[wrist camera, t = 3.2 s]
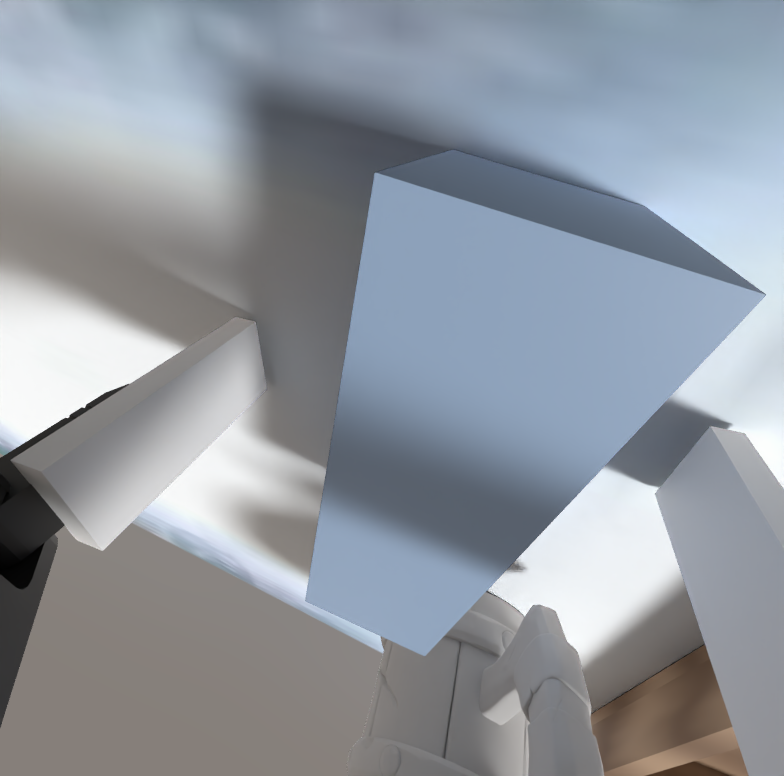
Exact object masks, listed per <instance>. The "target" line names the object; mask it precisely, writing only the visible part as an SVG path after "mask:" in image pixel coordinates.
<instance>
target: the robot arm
mask: <svg viewBox="0 0 784 776" xmlns="http://www.w3.org/2000/svg"><path fill="white" fill-rule="evenodd" d="M266 390H267V384H266V379H265V373H264V367H263V361H262V355H261V349H260V343H259V337H258V331H257V325H256V321H251V320H247V319H242V318H238V317H235V318H233V319H231V320H230V321H228V322H227V323H225V324H224V325H222V326H220V327H219V328H217V329H216V330H214V331H213V332H211V333H209V334H208V335H206V336H205V337H203V338H202V339H200V340H198V341H197V342H195V343H194V344H192V345H191V346H189V347H187V348H186V349H184V350H183V351H181V352H180V353H178V354H176V355H175V356H173V357H172V358H170V359H169V360H167V361H165V362H164V363H162V364H161V365H159V366H158V367H156V368H154V369H153V370H151V371H150V372H148V373H147V374H145V375H143V376H142V377H140V378H139V379H137V380H136V381H134V382H132V383H131V384H127V385H125V386H122V387H119V388H117V389H114V390H112V391H109V392H106V393H104V394H103V395H101V396H100V397H98V398H96V399H95V400H93V401H92V402H90V403H88V404H87V405H86V407H85V408H80V409H79V410H77V411H75V412H74V413H72V414H71V415H70V417H69V418H64V419H63V420H61V421H59V422H58V423H56V424H54V425H53V426H51V427H50V428H48V429H46V430H45V431H43V432H42V433H40V434H38V435H37V436H35V437H34V438H32V439H30V440H29V441H27V442H25V443H24V444H22V445H21V446H19V447H17V448H16V449H14V450H13V451H11V452H9V453H8V454H6V455H4V456H3V457H1V458H0V727H1V724H2V720H3V717H4V714H5V711H6V708H7V704H8V701H9V698H10V695H11V692H12V689H13V686H14V682H15V679H16V676H17V673H18V670H19V667H20V663H21V660H22V657H23V654H24V651H25V647H26V644H27V641H28V638H29V635H30V632H31V629H32V626H33V622H34V619H35V616H36V613H37V609H38V606H39V603H40V600H41V597H42V594H43V590H44V588H45V584H46V581H47V578H48V575H49V572H50V568H51V565H52V562H53V559H54V556H55V553H56V550H57V544H58V538H57V537H56V536H55V533H56V532H57V531H59V530H60V529H61V528H62V527H63V526H65V527H66V528H67V529H68V530H69V532H70V533H71V534H72V535H73V536H74V538H75V539H76V540H77V541H80V542H82V543H85V544H87V545H89V546H92V547H94V548H97V549H99V550H102V551H103V550H104V549H105V548H106V547H107V546H108V545H109V544H110V543H111V542H112V541H113V540H114V539H115V538H116V537H117V536H118V535H119V534H120V533H121V532H122V531H123V530H124V529H125V528H126V527H127V526H128V525H129V524H130V523H131V522H132V521H134V520H135V519H136V518H137V517H138V516H139V515H140V514H141V513H142V512H143V511H144V510H145V509H146V508H147V507H148V506H149V505H150V504H151V503H152V502H153V501H154V500H155V499H156V498H157V497H158V496H159V495H160V494H161V493H162V492H163V491H164V490H165V489H166V488H167V487H168V486H169V485H170V484H171V483H172V482H173V481H174V480H175V479H176V478H177V477H178V476H179V475H180V474H181V473H182V472H183V471H184V470H185V469H186V468H187V467H188V466H189V465H190V464H191V463H192V462H193V461H195V460H196V459H197V458H198V457H199V456H200V455H201V454H202V453H203V452H204V451H205V450H206V449H207V448H208V447H209V446H210V445H211V444H212V443H213V442H214V441H215V440H216V439H217V438H218V437H219V436H220V435H221V434H222V433H223V432H224V431H225V430H226V429H227V428H228V427H229V426H230V425H231V424H232V423H233V422H234V421H235V420H236V419H237V418H238V417H239V416H240V415H241V414H242V413H243V412H244V411H245V410H246V409H247V408H248V407H249V406H250V405H251V404H252V403H253V402H255V401H256V400H257V399H258V398H259V397H260V396H261V395H262V394H263V393H264V392H265V391H266ZM655 495H656V498H657V501H658V504H659V507H660V510H661V514H662V517H663V520H664V523H665V526H666V529H667V532H668V535H669V538H670V541H671V544H672V547H673V550H674V553H675V556H676V559H677V562H678V565H679V568H680V571H681V574H682V577H683V580H684V583H685V586H686V589H687V592H688V595H689V598H690V601H691V604H692V607H693V610H694V613H695V616H696V619H697V622H698V625H699V628H700V631H701V634H702V637H703V640H704V643H705V646H706V649H707V652H708V655H709V658H710V661H711V664H712V667H713V670H714V673H715V676H716V679H717V682H718V685H719V688H720V691H721V694H722V697H723V700H724V703H725V706H726V709H727V712H728V715H729V718H730V721H731V724H732V727H733V730H734V733H735V736H736V739H737V742H738V745H739V748H740V751H741V754H742V757H743V760H744V763H745V766H746V769H747V772H748V775H749V776H784V489H783V488H782V486H781V485H780V483H779V482H778V481H777V479H776V478H775V476H774V475H773V473H772V472H771V470H770V469H769V468H768V466H767V465H766V463H765V462H764V460H763V459H762V457H761V456H760V455H759V453H758V452H757V450H756V449H755V447H754V446H753V444H752V443H751V442H750V440H749V439H748V437H747V436H746V434H744V433H740V432H735V431H731V430H726V429H722V428H718V427H713V426H710V427H709V428H708V429H707V431H706V432H705V433H704V434H703V435H702V437H701V438H700V439H699V440H698V441H697V443H696V444H695V445H694V446H693V448H692V449H691V450H690V451H689V452H688V454H687V455H686V456H685V457H684V459H683V460H682V461H681V462H680V463H679V465H678V466H677V467H676V468H675V470H674V471H673V472H672V473H671V474H670V476H669V477H668V478H667V479H666V481H665V482H664V483H663V484H662V485H661V487H660V488H659V489H658V490H657V492H656V493H655Z"/></svg>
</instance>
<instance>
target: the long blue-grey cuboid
mask: <svg viewBox="0 0 784 776" xmlns="http://www.w3.org/2000/svg"><path fill="white" fill-rule="evenodd" d="M765 296H766V294H765V293H763V292H762V291H760V290H759V289H758V288H756V287H755V286H754V285H752V284H751V283H749V282H748V281H747V280H745V279H744V278H743V277H741V276H740V275H739V274H737V273H736V272H734V271H733V270H732V269H730V268H729V267H728V266H726V265H725V264H723V263H722V262H721V261H719V260H718V259H717V258H715V257H714V256H712V255H711V254H710V253H708V252H707V251H706V250H704V249H703V248H701V247H700V246H699V245H697V244H696V243H695V242H693V241H692V240H691V239H689V238H688V237H686V236H685V235H684V234H682V233H681V232H680V231H678V230H677V229H675V228H674V227H673V226H671V225H670V224H669V223H667V222H666V221H664V220H663V219H662V218H660V217H659V216H658V215H656V214H655V213H654V212H652V211H651V210H649V209H648V208H647V207H645V206H641V205H638V204H635V203H631V202H628V201H625V200H621V199H618V198H615V197H611V196H608V195H604V194H601V193H598V192H594V191H591V190H588V189H584V188H581V187H578V186H574V185H571V184H568V183H564V182H561V181H557V180H554V179H551V178H547V177H544V176H541V175H537V174H534V173H531V172H527V171H524V170H520V169H517V168H514V167H510V166H507V165H504V164H500V163H497V162H494V161H490V160H487V159H484V158H480V157H477V156H473V155H470V154H467V153H463V152H460V151H457V150H450V151H446V152H443V153H439V154H436V155H432V156H429V157H426V158H422V159H419V160H415V161H412V162H408V163H405V164H402V165H398V166H395V167H391V168H388V169H384V170H381V171H378V172H375V174H374V180H373V186H372V192H371V199H370V205H369V211H368V217H367V223H366V229H365V236H364V242H363V248H362V254H361V260H360V266H359V273H358V279H357V285H356V291H355V297H354V303H353V310H352V316H351V322H350V328H349V334H348V340H347V347H346V353H345V359H344V365H343V371H342V377H341V384H340V390H339V396H338V402H337V408H336V415H335V421H334V427H333V433H332V439H331V445H330V452H329V458H328V464H327V470H326V476H325V482H324V489H323V495H322V501H321V507H320V513H319V519H318V526H317V532H316V538H315V544H314V550H313V556H312V563H311V569H310V575H309V581H308V587H307V593H306V600H305V601H306V602H308V603H310V604H313V605H315V606H317V607H319V608H321V609H323V610H325V611H328V612H330V613H332V614H334V615H336V616H338V617H341V618H343V619H345V620H347V621H349V622H351V623H354V624H356V625H358V626H360V627H362V628H364V629H366V630H369V631H371V632H373V633H375V634H377V635H379V636H382V637H384V638H386V639H388V640H390V641H392V642H395V643H397V644H399V645H401V646H403V647H405V648H407V649H410V650H412V651H414V652H416V653H418V654H420V655H423V656H426V655H427V654H428V652H429V651H430V650H431V649H432V648H433V647H434V646H435V645H436V644H437V643H438V642H439V641H440V640H441V639H442V638H443V637H444V636H445V634H446V633H447V632H448V631H449V630H450V629H451V628H452V627H453V626H454V625H455V624H456V623H457V622H458V621H459V620H460V619H461V618H462V616H463V615H464V614H465V613H466V612H467V611H468V610H469V609H470V608H471V607H472V606H473V605H474V604H475V603H476V602H477V601H478V600H479V598H480V597H481V596H482V595H483V594H484V593H485V592H486V591H487V590H488V589H489V588H490V587H491V586H492V585H493V584H494V583H495V582H496V580H497V579H498V578H499V577H500V576H501V575H502V574H503V573H504V572H505V571H506V570H507V569H508V568H509V567H510V566H511V565H512V564H513V562H514V561H515V560H516V559H517V558H518V557H519V556H520V555H521V554H522V553H523V552H524V551H525V550H526V549H527V548H528V547H529V546H530V544H531V543H532V542H533V541H534V540H535V539H536V538H537V537H538V536H539V535H540V534H541V533H542V532H543V531H544V530H545V529H546V528H547V526H548V525H549V524H550V523H551V522H552V521H553V520H554V519H555V518H556V517H557V516H558V515H559V514H560V513H561V512H562V511H563V510H564V508H565V507H566V506H567V505H568V504H569V503H570V502H571V501H572V500H573V499H574V498H575V497H576V496H577V495H578V494H579V493H580V492H581V490H582V489H583V488H584V487H585V486H586V485H587V484H588V483H589V482H590V481H591V480H592V479H593V478H594V477H595V476H596V475H597V474H598V472H599V471H600V470H601V469H602V468H603V467H604V466H605V465H606V464H607V463H608V462H609V461H610V460H611V459H612V458H613V457H614V456H615V455H616V453H617V452H618V451H619V450H620V449H621V448H622V447H623V446H624V445H625V444H626V443H627V442H628V441H629V440H630V439H631V438H632V437H633V435H634V434H635V433H636V432H637V431H638V430H639V429H640V428H641V427H642V426H643V425H644V424H645V423H646V422H647V421H648V420H649V419H650V417H651V416H652V415H653V414H654V413H655V412H656V411H657V410H658V409H659V408H660V407H661V406H662V405H663V404H664V403H665V402H666V401H667V399H668V398H669V397H670V396H671V395H672V394H673V393H674V392H675V391H676V390H677V389H678V388H679V387H680V386H681V385H682V384H683V383H684V381H685V380H686V379H687V378H688V377H689V376H690V375H691V374H692V373H693V372H694V371H695V370H696V369H697V368H698V367H699V366H700V365H701V363H702V362H703V361H704V360H705V359H706V358H707V357H708V356H709V355H710V354H711V353H712V352H713V351H714V350H715V349H716V348H717V347H718V345H719V344H720V343H721V342H722V341H723V340H724V339H725V338H726V337H727V336H728V335H729V334H730V333H731V332H732V331H733V330H734V329H735V327H736V326H737V325H738V324H739V323H740V322H741V321H742V320H743V319H744V318H745V317H746V316H747V315H748V314H749V313H750V312H751V311H752V309H753V308H754V307H755V306H756V305H757V304H758V303H759V302H760V301H761V300H762V299H763V298H764V297H765Z"/></svg>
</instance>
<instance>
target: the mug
mask: <svg viewBox="0 0 784 776" xmlns="http://www.w3.org/2000/svg"><path fill="white" fill-rule="evenodd" d="M381 641H382V646H383V648H384V653H383V656H382V660H381V663H380V669H379V671H378V676H377V680H376V685H375V689H374V693H373V697H372V701H371V705H370V709H369V713H368V716H367V720H366V724H365V728H364V732H363V736H362V738H360V739H359V740H358V741H357V742H356V744H355V745H354V746H353V747H352V748H351V750H350V752H349V757H348V761H347V773H348V776H604V771H603V765H602V760H601V756H600V752H599V749H598V744H597V740H596V737H595V736H594V735H593V734H592V726H591V720H590V716H591V703H590V699H589V695H588V690H587V686H586V682H585V679H584V675H583V671H582V667H581V662H580V658H579V655H578V652H577V651H576V650H575V648H573V647H572V646H571V645H570V644H569V643H568V642H567V640H566V638H565V635H564V633H563V630H562V627H561V624H560V621H559V619H558V616H557V614H556V612H555V611H554V610H552V609H550V608H548V607H545V606H542V605H533V606H532V607H531V609H530V610H529V611H528V613H527V614H526V616H525V617H524V616H523V615H522V614H521V613H520V612H519V611H517V610H516V609H515V608H514V607H512V606H511V605H510V604H508V603H507V602H505V601H504V600H502V599H500V598H498V597H496V596H494V595H492V594H489V593H487V592H485V593H484V594H483V595H482V596H481V597H480V598H479V600H478V601H477V602H476V603H475V604H474V605H473V606H472V607H471V608H470V609H469V610H468V611H467V612H466V613H465V614H464V615H463V616H462V618H461V619H460V620H459V621H458V622H457V623H456V624H455V625H454V626H453V627H452V628H451V629H450V630H449V631H448V632H447V633H446V634H445V636H444V637H443V638H442V639H441V640H440V641H439V642H438V643H437V644H436V645H435V646H434V647H433V648H432V649H431V650H430V651H429V652H428V654H427V655H426V656H423V655H420V654H418V653H416V652H414V651H412V650H410V649H407V648H405V647H403V646H401V645H399V644H397V643H395V642H392V641H390V640H388V639H386V638H384V637H382V636H381Z"/></svg>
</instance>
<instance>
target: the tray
mask: <svg viewBox="0 0 784 776" xmlns="http://www.w3.org/2000/svg"><path fill="white" fill-rule="evenodd" d="M590 720H591V726H592V734H593V735H594V736H595V737H596V740H597V744H598V749H599V752H600V756H601V760H602V765H603V771H604V776H749V775H748V772H747V769H746V766H745V763H744V760H743V757H742V754H741V751H740V748H739V745H738V742H737V739H736V736H735V733H734V730H733V727H732V724H731V721H730V718H729V715H728V712H727V709H726V706H725V703H724V700H723V697H722V694H721V691H720V688H719V685H718V682H717V679H716V676H715V673H714V670H713V667H712V664H711V661H710V658H709V655H708V652H707V649H706V646H705V645H703V646H701V647H700V648H698V649H697V650H695V651H693V652H692V653H690V654H688V655H687V656H685V657H684V658H682V659H680V660H679V661H677V662H675V663H674V664H672V665H670V666H669V667H667V668H666V669H664V670H662V671H661V672H659V673H657V674H656V675H654V676H653V677H651V678H649V679H648V680H646V681H644V682H643V683H641V684H640V685H638V686H636V687H635V688H633V689H631V690H630V691H628V692H627V693H625V694H623V695H622V696H620V697H618V698H617V699H615V700H614V701H612V702H610V703H609V704H607V705H605V706H604V707H602V708H600V709H599V710H597V711H596V712H594V713H592V714H591V716H590Z"/></svg>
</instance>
